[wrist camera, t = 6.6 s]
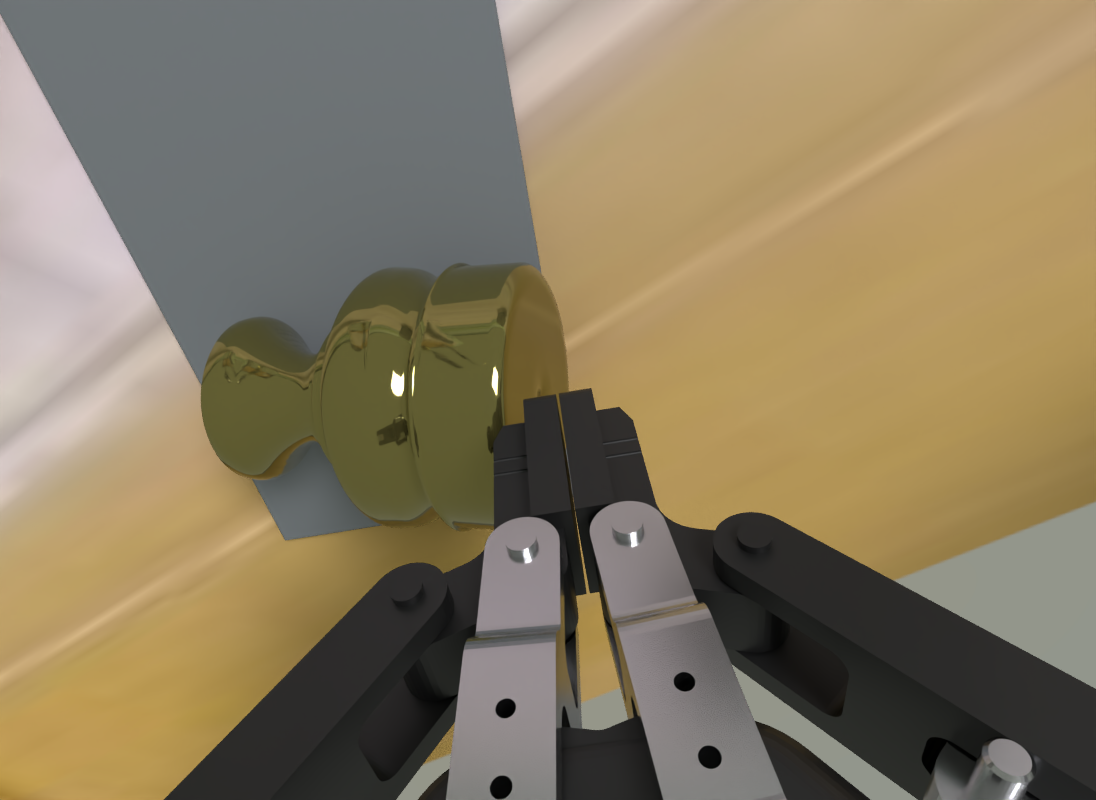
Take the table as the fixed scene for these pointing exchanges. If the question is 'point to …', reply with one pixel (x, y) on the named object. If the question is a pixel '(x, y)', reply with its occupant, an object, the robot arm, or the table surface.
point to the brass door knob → (394, 389)
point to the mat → (286, 161)
